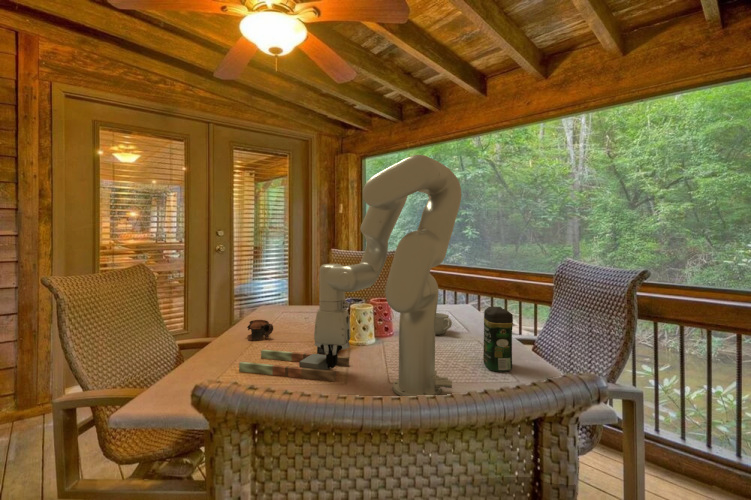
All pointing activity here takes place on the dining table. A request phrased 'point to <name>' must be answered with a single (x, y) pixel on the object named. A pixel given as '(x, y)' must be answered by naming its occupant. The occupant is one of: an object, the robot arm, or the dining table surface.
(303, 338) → the dining table surface
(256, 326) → the pottery mug
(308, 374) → the channel
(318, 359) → the grey block
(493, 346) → the coffee jar
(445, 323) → the teacup
